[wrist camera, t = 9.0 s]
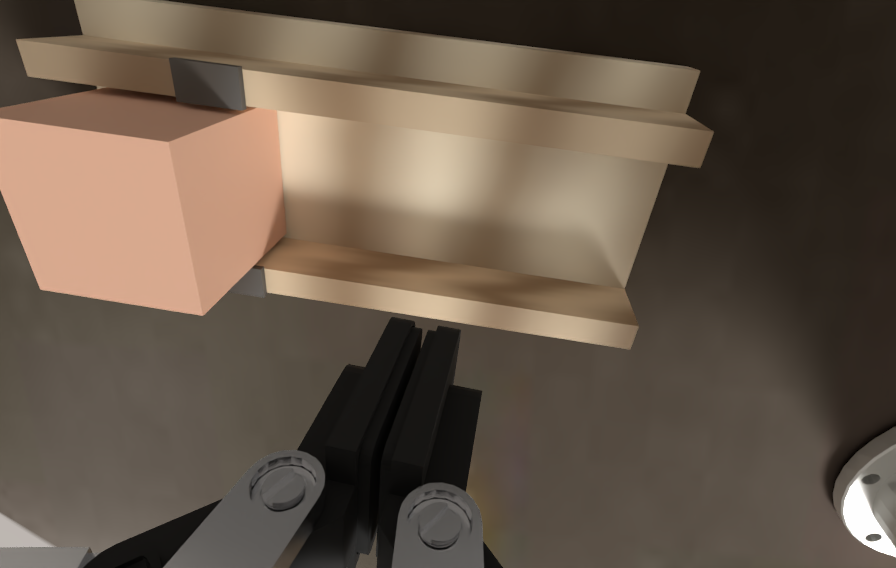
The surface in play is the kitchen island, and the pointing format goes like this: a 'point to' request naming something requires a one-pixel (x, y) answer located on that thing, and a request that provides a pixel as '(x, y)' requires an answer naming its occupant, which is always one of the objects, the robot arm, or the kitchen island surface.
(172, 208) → the block
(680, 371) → the kitchen island surface
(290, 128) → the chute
